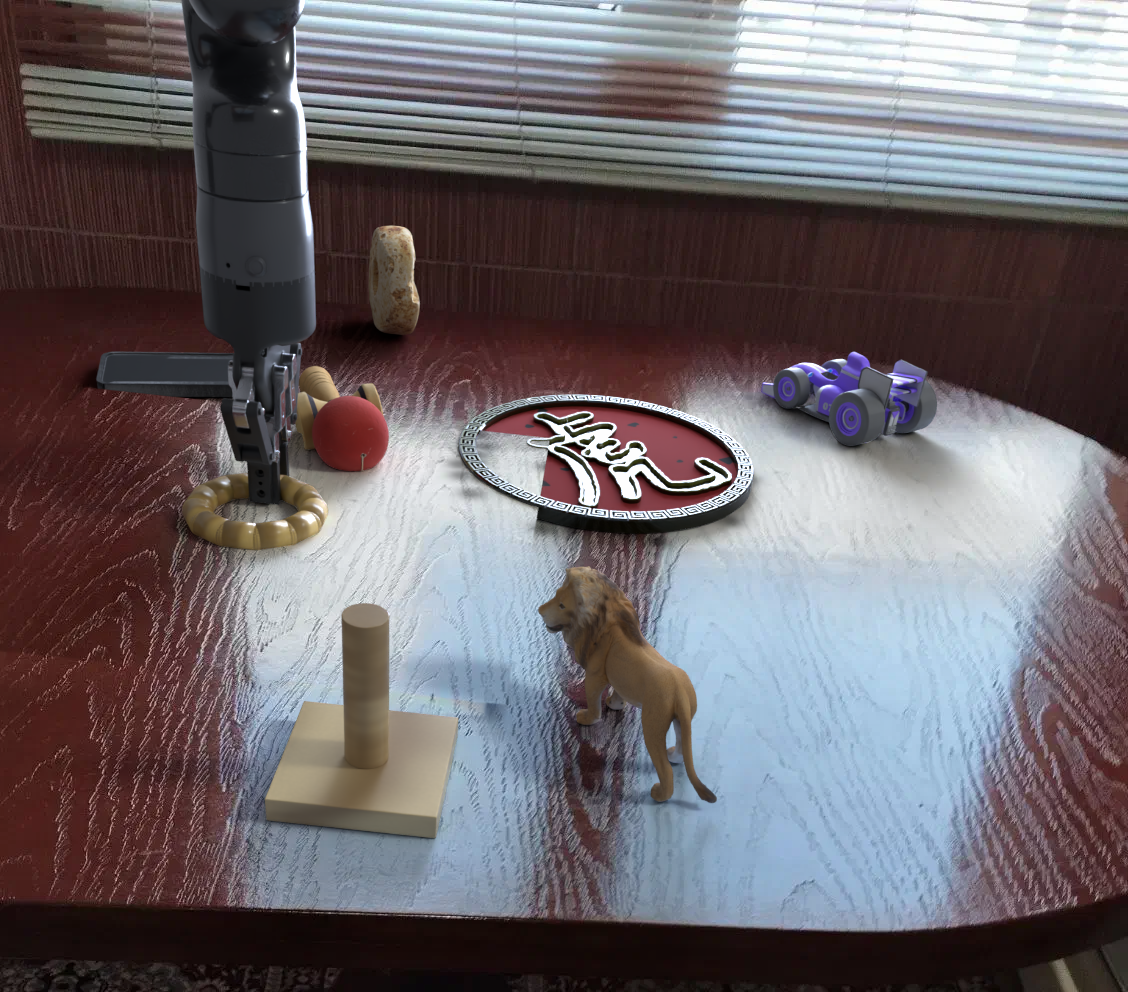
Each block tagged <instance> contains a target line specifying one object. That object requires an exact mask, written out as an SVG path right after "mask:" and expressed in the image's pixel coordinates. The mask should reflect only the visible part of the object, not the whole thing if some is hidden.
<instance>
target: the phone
mask: <svg viewBox="0 0 1128 992" xmlns="http://www.w3.org/2000/svg"><path fill="white" fill-rule="evenodd" d="M233 353H234V352H180V351H179V352H178V351H177V352H172V351H171V352H170V351H169V352H168V351H107V352H104V353H103V354H101V356H100V360H99V365H98V370H97V374H96V386H97V389H99V390H107V391H117V392H125V393H126V392H127V393H134V394H144V395H152V396H153V395H154V396H162V397H170V398H233V396H232V388H231V387H230V386H229V383H228V364H229V361H230V360H232V361H233Z"/></svg>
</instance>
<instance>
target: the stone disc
mask: <svg viewBox="0 0 1128 992" xmlns="http://www.w3.org/2000/svg"><path fill="white" fill-rule="evenodd" d="M369 249H370V250H369V260H368V261H369V262H368V285H367V286H368V301H369V305H370V309H371V314H372V319H373V324H374V326H375V327H376V329H377V330H378V331H380V332H382V333H384V334H390V335H399V336H405V335H410V334H413V332H414V331H415V328H416V326H417V323H418V319H419V315H420V305H421V303H420V302H421V301H420V296H419V293H418V289H417V285H416V284H415V270H414V269H415V261H416V251H415V246H414V240H413V235H412V233H411V231H410V230H409V229H408V228H407V227H404V226H399V225H383V226H380V227H377V228H376V229H374V231H373V234H372V238H371V243H370V248H369Z"/></svg>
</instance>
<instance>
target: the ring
mask: <svg viewBox="0 0 1128 992" xmlns="http://www.w3.org/2000/svg"><path fill="white" fill-rule="evenodd" d="M280 486H281V501H280V502H284V503H286V504H289V505H290V506H293V507H295V509H296V510H297V511H296V512H295V513H294V514H291V515H290V516H287V517H285V518H283V519H277V520H270V521H263V522H262V521H261V522H247V521H240V520H231V519H228V518H225V517H223V516H221V515H219V514H217V513H215V511H216V509H217V508H218V507H220V506H223V505H225V504H227V503H229V502H231V501H234V500H242V499H249V487H248V472H241V473H231V474H223V475H220V476H218V477H215V478H213V479H211V480H208V481H206V482H203V483H201V484H199V485H197V486H195V487H194V488H193V490H192V491H191V493H190V494H189V495H188V497H187V498H186V500H185V501H184V502H183V505H182V508H181V514H182V517H183V519H184V520H185V522H186V524H187V526H188V528H189V529H190V532H191V533H192V534H193V535H194V536H196V537H199V538H201V539H203V540H205V541H207V542H210V543H211V544H214V545H216V546H218V547H224V548H232V549H241V550H251V551H262V550H270V549H278V548H284V547H290V546H291V547H292V546H295V545H297V544H299V543H302V542H303V541H305V540H307V539H310V538H311V537H313V536H315V535H317V534H319V533H320V532H321V530H322V528H323V526H324V524H325V521H326V520H327V517H328V515H329V507H328V505H327V502H326V501H325V500H324V498H323V497H322V495H321V494H320V492H319V491H318V490H317V489H316V488H315V487H314V486H313V485H311V484H309V483H306V482H304V481H302V480H299V479H296V478H295V477H292V476H291V475H289V476H287V475H280Z"/></svg>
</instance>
